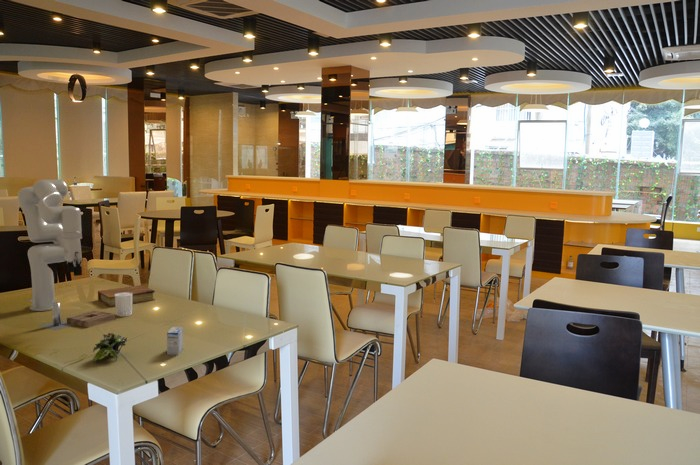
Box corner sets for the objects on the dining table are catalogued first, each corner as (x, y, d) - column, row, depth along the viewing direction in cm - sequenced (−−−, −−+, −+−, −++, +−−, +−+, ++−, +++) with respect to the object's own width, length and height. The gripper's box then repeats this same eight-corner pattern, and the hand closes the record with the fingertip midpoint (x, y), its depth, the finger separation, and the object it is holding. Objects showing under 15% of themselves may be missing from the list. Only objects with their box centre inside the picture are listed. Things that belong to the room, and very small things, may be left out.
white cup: (136, 313, 270) (135, 292, 269) (128, 317, 262) (127, 296, 261) (120, 312, 271) (119, 292, 270) (112, 316, 263) (111, 295, 262)
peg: (51, 325, 247) (50, 303, 246) (58, 323, 250) (56, 301, 248) (56, 326, 246) (55, 304, 244) (62, 324, 248) (61, 302, 247)
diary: (141, 295, 310) (141, 284, 309) (154, 301, 296) (154, 290, 295) (98, 301, 295) (97, 290, 294) (109, 308, 281) (109, 296, 280)
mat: (37, 327, 246) (37, 326, 246) (58, 321, 255) (58, 320, 255) (56, 330, 240) (55, 329, 240) (76, 324, 249) (76, 324, 249)
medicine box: (171, 348, 219) (171, 326, 218) (183, 348, 220) (182, 326, 219) (167, 355, 212) (166, 332, 211) (179, 354, 212) (178, 332, 211)
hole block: (67, 324, 251) (66, 317, 250) (93, 316, 263) (93, 310, 263) (88, 328, 244) (88, 321, 244) (114, 320, 257) (114, 314, 257)
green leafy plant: (110, 369, 211) (124, 339, 216) (123, 371, 204) (137, 340, 209) (82, 358, 204) (98, 327, 209) (95, 360, 197) (111, 328, 202)
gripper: (57, 234, 250) (59, 272, 252) (68, 238, 237) (71, 277, 239) (75, 233, 255) (77, 270, 257) (87, 236, 242) (89, 275, 244)
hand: (74, 273), depth 248 cm, fingers open, 9 cm apart
